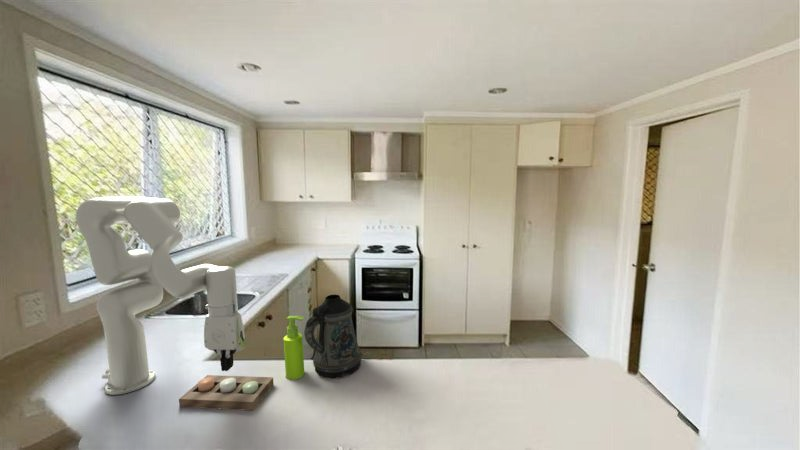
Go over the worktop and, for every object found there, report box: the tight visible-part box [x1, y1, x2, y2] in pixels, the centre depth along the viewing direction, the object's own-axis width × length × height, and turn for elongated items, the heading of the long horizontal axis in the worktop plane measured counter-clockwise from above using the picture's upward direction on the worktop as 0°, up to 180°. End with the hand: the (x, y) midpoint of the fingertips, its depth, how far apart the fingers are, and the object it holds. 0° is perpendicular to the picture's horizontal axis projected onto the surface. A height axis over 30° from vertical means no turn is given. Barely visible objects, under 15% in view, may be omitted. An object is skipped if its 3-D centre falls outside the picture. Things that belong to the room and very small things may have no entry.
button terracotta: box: [197, 377, 215, 392], centre depth 98 cm, size 4×4×2 cm
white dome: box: [220, 378, 236, 393], centre depth 97 cm, size 4×4×2 cm
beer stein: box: [303, 294, 363, 380], centre depth 110 cm, size 16×19×25 cm
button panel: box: [178, 374, 274, 411], centre depth 98 cm, size 22×12×2 cm, turn 85°
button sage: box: [243, 381, 258, 394], centre depth 97 cm, size 4×4×2 cm
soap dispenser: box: [283, 315, 305, 380], centre depth 107 cm, size 6×7×20 cm
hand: (227, 368), depth 97 cm, fingers closed
